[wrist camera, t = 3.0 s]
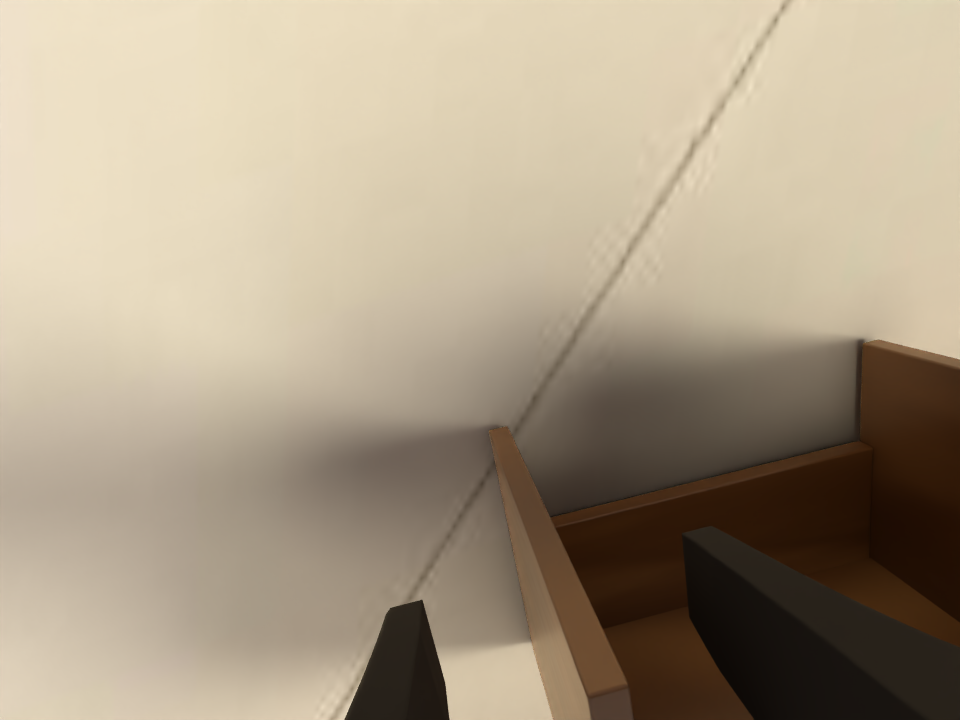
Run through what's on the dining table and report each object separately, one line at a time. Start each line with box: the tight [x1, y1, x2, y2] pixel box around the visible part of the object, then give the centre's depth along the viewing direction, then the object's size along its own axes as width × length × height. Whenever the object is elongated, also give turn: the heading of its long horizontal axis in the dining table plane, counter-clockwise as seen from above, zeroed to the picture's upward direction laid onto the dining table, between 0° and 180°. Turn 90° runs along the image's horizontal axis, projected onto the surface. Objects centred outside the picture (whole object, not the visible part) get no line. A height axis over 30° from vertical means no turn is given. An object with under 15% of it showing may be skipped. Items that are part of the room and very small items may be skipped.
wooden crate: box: [489, 340, 960, 720], centre depth 13 cm, size 9×13×8 cm
